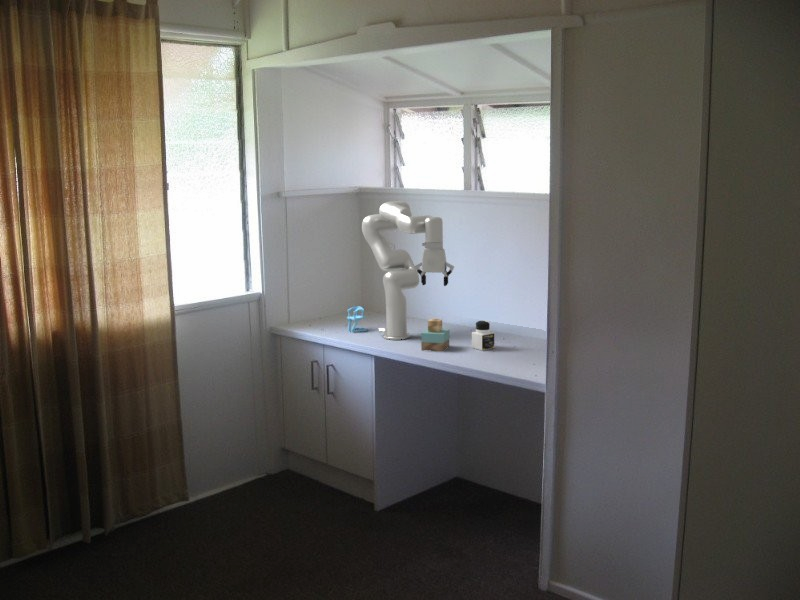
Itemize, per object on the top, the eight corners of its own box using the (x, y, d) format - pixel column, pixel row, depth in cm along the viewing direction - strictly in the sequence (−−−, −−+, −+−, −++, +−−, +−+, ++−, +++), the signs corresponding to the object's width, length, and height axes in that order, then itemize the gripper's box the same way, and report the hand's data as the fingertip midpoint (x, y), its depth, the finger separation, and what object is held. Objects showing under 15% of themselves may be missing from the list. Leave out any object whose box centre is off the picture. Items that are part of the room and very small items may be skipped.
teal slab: (421, 342, 365) (421, 333, 364) (428, 337, 374) (427, 328, 373) (443, 343, 362) (443, 334, 361) (449, 338, 371) (449, 329, 370)
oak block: (428, 332, 366) (427, 320, 365) (431, 329, 370) (431, 318, 369) (439, 332, 364) (438, 321, 363) (442, 330, 369) (442, 319, 368)
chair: (344, 331, 408) (343, 307, 406) (358, 328, 413) (357, 304, 411) (353, 333, 402) (352, 309, 400) (368, 330, 407) (367, 306, 405)
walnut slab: (421, 351, 365) (421, 342, 365) (427, 345, 375) (427, 337, 374) (443, 352, 362) (443, 343, 362) (449, 346, 372) (449, 338, 371)
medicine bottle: (482, 350, 361) (482, 323, 359) (471, 348, 367) (471, 321, 365) (494, 348, 366) (494, 321, 363) (483, 345, 371) (483, 319, 369)
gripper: (412, 246, 359) (413, 285, 362) (451, 247, 354) (451, 287, 357) (417, 244, 366) (418, 283, 369) (455, 245, 361) (456, 284, 364)
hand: (434, 285), depth 363 cm, fingers open, 9 cm apart
